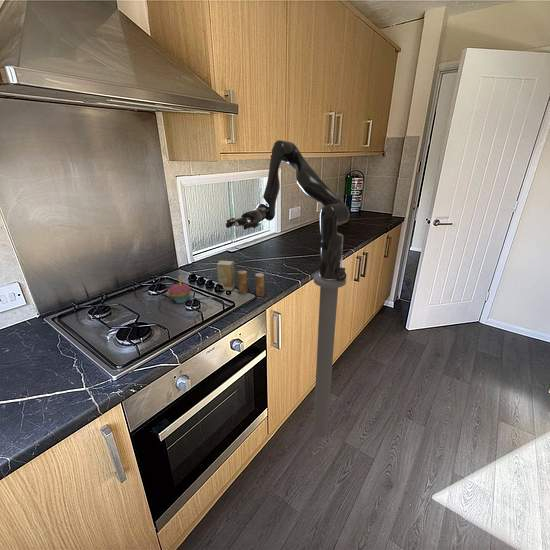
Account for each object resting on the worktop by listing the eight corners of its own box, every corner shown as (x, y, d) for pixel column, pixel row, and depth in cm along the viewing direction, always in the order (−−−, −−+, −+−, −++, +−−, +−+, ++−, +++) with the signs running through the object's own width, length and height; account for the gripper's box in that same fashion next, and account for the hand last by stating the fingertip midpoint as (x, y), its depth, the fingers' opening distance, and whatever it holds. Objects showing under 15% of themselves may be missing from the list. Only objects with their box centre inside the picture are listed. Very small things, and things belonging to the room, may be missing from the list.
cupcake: (196, 299, 119) (192, 272, 115) (179, 307, 113) (174, 279, 108) (182, 293, 124) (178, 267, 119) (165, 302, 118) (160, 274, 113)
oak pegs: (266, 293, 123) (265, 273, 120) (262, 296, 120) (261, 276, 117) (241, 289, 127) (240, 269, 124) (237, 292, 124) (236, 273, 121)
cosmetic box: (218, 290, 127) (215, 263, 122) (221, 285, 130) (219, 260, 126) (232, 291, 126) (230, 264, 121) (235, 286, 129) (233, 260, 125)
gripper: (238, 209, 142) (220, 216, 128) (265, 211, 137) (249, 219, 123) (239, 225, 145) (222, 233, 131) (265, 227, 140) (250, 236, 126)
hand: (235, 226), depth 127 cm, fingers open, 8 cm apart
